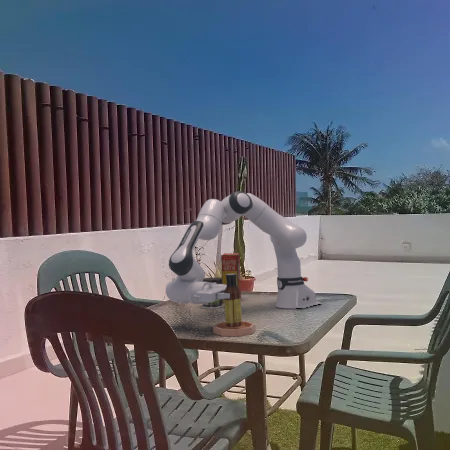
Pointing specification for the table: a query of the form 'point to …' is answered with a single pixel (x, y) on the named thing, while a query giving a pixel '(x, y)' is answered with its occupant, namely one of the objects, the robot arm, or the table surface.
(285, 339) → the table surface
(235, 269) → the food packaging
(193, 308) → the table surface
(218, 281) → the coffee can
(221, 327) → the terracotta saucer
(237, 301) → the sauce bottle
